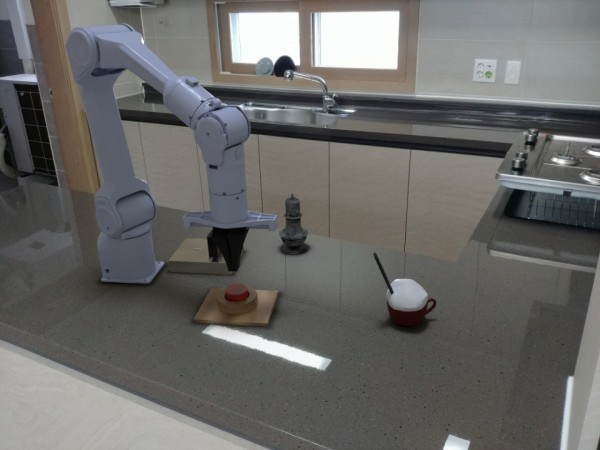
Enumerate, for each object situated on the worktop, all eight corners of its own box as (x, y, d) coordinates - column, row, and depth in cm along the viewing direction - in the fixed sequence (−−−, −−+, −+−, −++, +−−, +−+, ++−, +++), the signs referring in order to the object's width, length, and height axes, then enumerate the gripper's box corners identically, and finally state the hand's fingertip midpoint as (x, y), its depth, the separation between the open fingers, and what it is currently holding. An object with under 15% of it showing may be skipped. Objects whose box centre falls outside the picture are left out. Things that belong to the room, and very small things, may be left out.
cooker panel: (169, 272, 101) (168, 259, 100) (187, 249, 110) (185, 237, 109) (234, 275, 100) (233, 262, 99) (246, 251, 109) (246, 239, 108)
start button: (223, 302, 87) (222, 294, 86) (229, 291, 90) (228, 282, 90) (245, 303, 87) (244, 295, 86) (250, 292, 90) (249, 283, 89)
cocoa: (436, 314, 86) (441, 246, 81) (431, 336, 80) (437, 265, 76) (377, 305, 89) (379, 239, 84) (369, 325, 83) (371, 257, 79)
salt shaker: (305, 256, 106) (304, 199, 101) (276, 254, 107) (273, 197, 102) (310, 243, 111) (309, 188, 107) (283, 241, 112) (280, 187, 108)
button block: (193, 322, 86) (192, 309, 85) (211, 290, 95) (210, 278, 94) (267, 327, 84) (266, 313, 83) (278, 294, 93) (278, 281, 92)
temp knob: (217, 256, 101) (215, 235, 100) (208, 255, 102) (206, 235, 100) (224, 244, 106) (223, 225, 104) (216, 244, 106) (214, 224, 105)
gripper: (279, 181, 84) (282, 259, 89) (189, 179, 86) (198, 255, 91) (270, 197, 77) (275, 280, 83) (174, 194, 79) (184, 275, 85)
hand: (234, 268), depth 86 cm, fingers closed
